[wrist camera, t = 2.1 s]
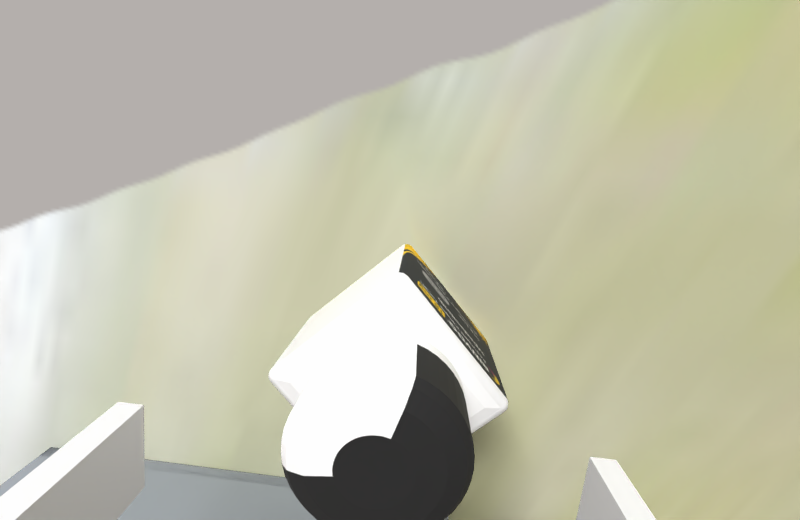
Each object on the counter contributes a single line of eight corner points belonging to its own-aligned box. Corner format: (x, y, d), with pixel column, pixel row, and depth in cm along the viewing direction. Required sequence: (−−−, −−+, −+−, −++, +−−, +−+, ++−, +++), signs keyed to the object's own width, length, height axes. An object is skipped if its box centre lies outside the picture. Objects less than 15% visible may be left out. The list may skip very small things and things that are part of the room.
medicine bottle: (489, 341, 25) (545, 496, 14) (387, 413, 26) (358, 612, 15) (407, 240, 24) (392, 311, 13) (306, 319, 26) (205, 450, 14)
